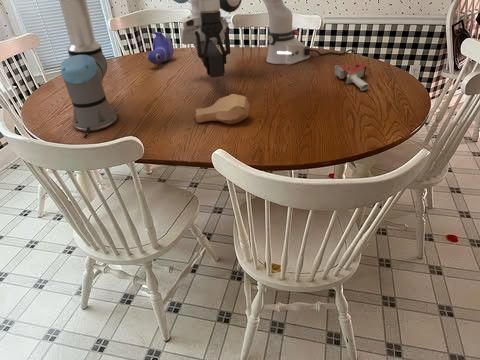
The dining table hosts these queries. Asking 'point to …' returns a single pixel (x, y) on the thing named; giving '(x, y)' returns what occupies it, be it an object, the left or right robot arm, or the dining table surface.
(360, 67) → the tape dispenser
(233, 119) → the squash
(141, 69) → the dining table surface
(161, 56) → the toy
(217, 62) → the bar
